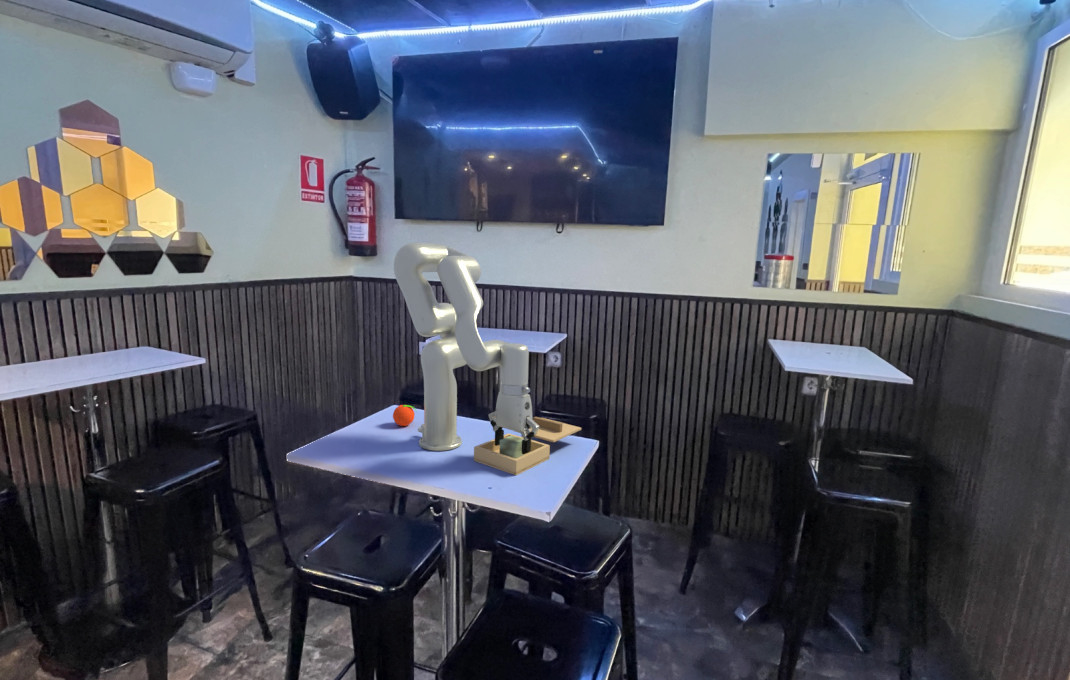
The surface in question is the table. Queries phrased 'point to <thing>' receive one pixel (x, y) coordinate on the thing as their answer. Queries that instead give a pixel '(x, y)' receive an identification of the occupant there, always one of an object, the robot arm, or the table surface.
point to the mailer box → (493, 458)
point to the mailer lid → (553, 429)
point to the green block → (511, 447)
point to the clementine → (403, 415)
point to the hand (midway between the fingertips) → (512, 448)
